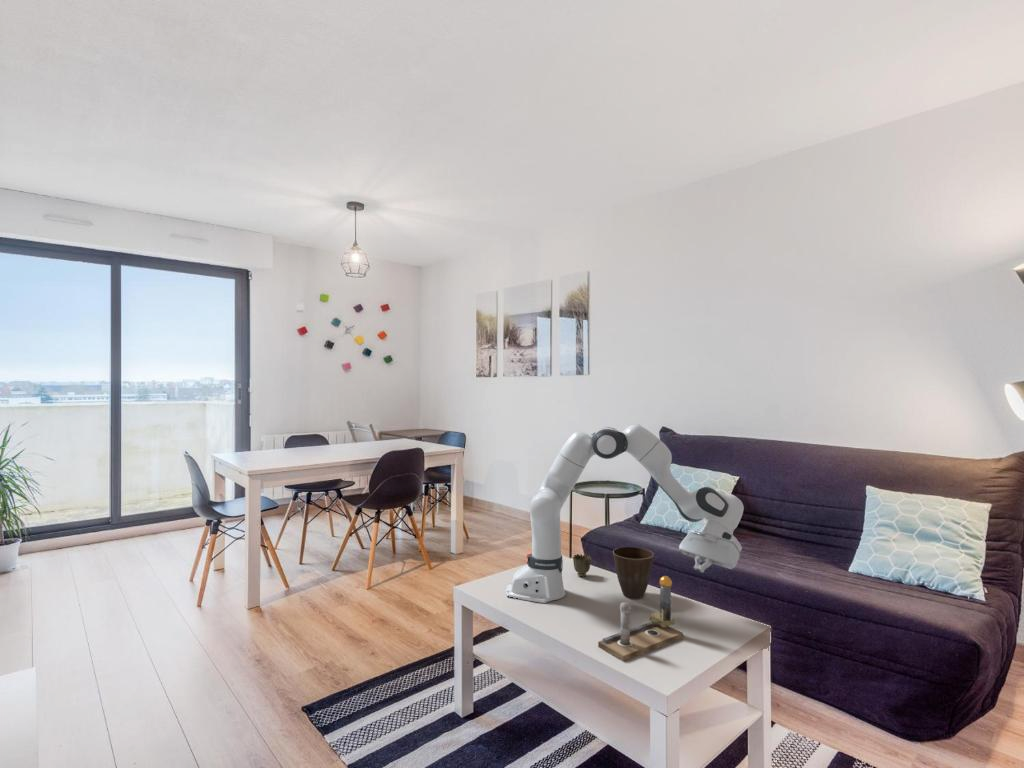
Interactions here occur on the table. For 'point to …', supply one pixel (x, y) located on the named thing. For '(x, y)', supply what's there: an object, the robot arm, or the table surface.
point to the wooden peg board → (637, 637)
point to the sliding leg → (664, 604)
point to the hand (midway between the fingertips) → (698, 570)
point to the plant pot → (633, 570)
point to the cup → (581, 564)
